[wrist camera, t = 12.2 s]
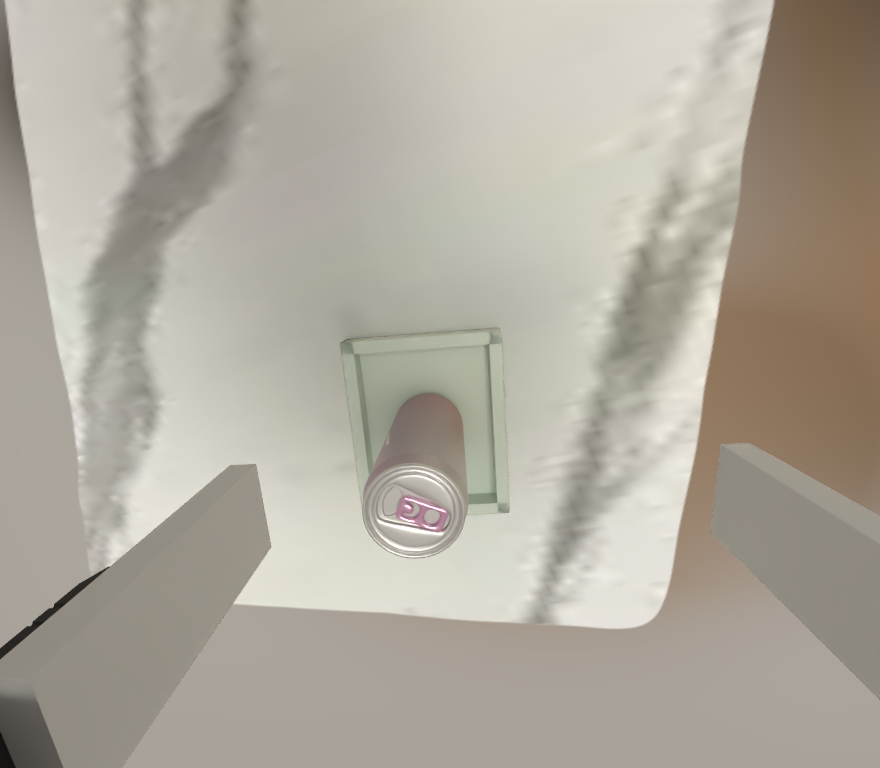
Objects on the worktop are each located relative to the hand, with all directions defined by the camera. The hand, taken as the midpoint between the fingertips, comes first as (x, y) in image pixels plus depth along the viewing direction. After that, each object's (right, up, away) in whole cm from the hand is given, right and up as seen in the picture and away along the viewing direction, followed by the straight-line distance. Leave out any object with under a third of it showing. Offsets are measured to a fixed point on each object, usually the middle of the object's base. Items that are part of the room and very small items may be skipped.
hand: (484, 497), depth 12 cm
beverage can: (-2, 0, +25) cm, 25 cm away
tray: (-2, 0, +26) cm, 26 cm away
